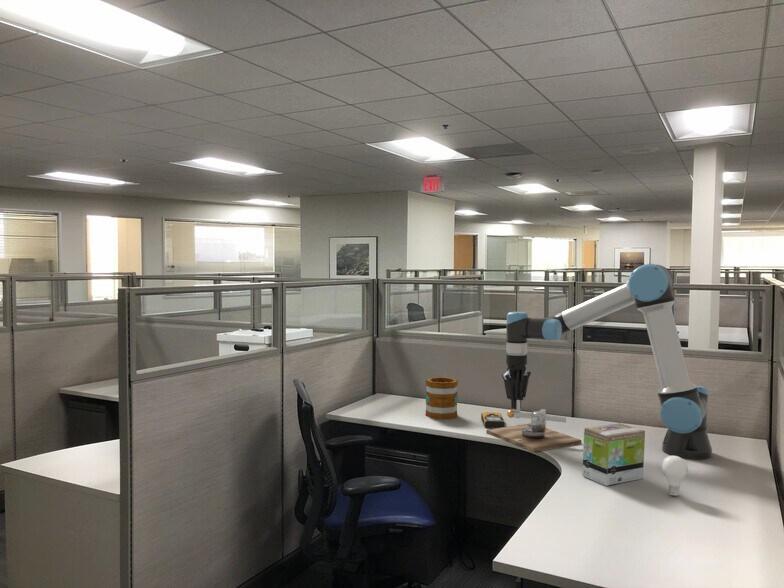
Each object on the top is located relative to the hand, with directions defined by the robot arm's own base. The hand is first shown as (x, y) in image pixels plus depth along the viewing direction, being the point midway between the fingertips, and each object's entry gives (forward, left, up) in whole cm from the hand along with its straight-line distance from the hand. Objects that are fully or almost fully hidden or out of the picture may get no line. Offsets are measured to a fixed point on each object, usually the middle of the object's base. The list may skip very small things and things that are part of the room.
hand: (516, 417), depth 221 cm
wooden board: (-5, -4, -7) cm, 9 cm away
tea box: (-48, +3, -7) cm, 49 cm away
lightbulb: (-66, 0, -7) cm, 66 cm away
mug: (+41, +6, -7) cm, 42 cm away
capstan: (-8, -4, -5) cm, 10 cm away
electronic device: (+19, -4, -8) cm, 20 cm away
